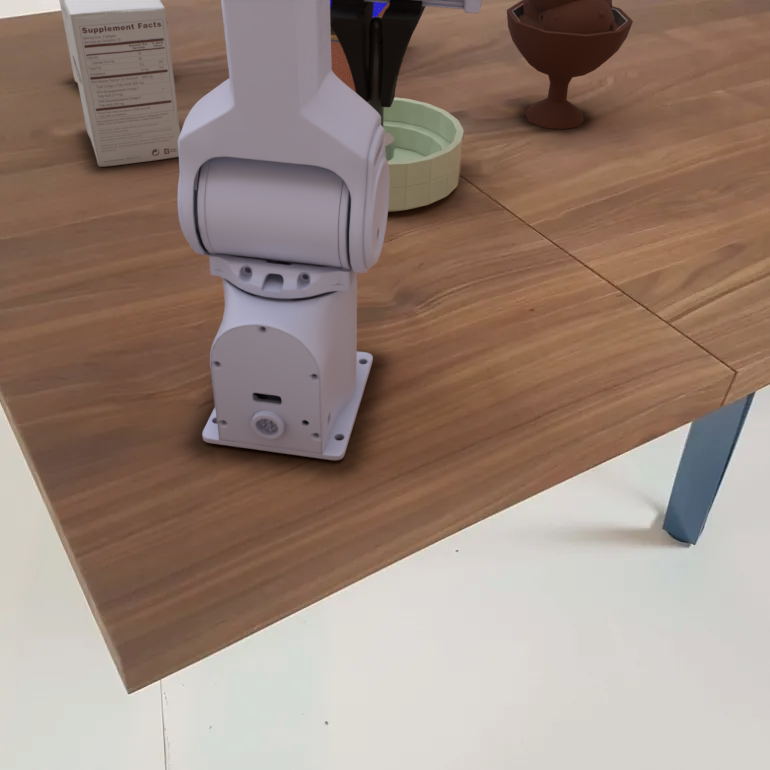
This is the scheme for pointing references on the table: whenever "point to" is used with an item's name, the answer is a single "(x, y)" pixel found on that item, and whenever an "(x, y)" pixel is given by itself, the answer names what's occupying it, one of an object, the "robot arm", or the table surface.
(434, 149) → the bowl
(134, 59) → the white packaging box
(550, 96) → the ice cream bowl
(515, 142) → the table surface
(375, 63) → the pen in desk stand
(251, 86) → the robot arm
